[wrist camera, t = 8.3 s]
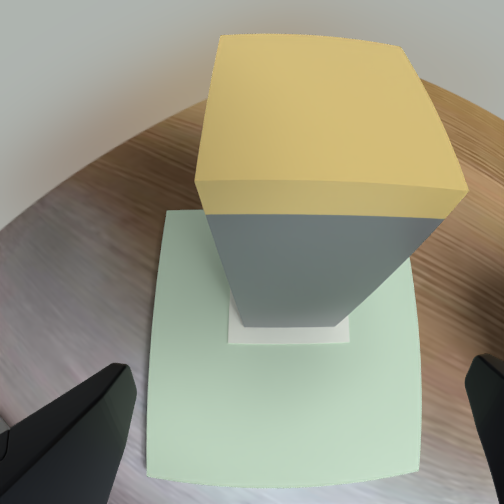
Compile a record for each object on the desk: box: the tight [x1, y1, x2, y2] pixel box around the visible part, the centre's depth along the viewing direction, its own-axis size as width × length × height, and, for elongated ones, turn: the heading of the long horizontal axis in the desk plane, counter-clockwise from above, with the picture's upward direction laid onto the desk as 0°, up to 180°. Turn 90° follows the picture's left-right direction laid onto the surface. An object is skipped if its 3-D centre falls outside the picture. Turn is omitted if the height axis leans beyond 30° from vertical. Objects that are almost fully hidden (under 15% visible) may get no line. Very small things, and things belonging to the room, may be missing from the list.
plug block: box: [195, 34, 469, 328], centre depth 11 cm, size 4×4×12 cm
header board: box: [147, 210, 422, 488], centre depth 14 cm, size 15×14×4 cm
